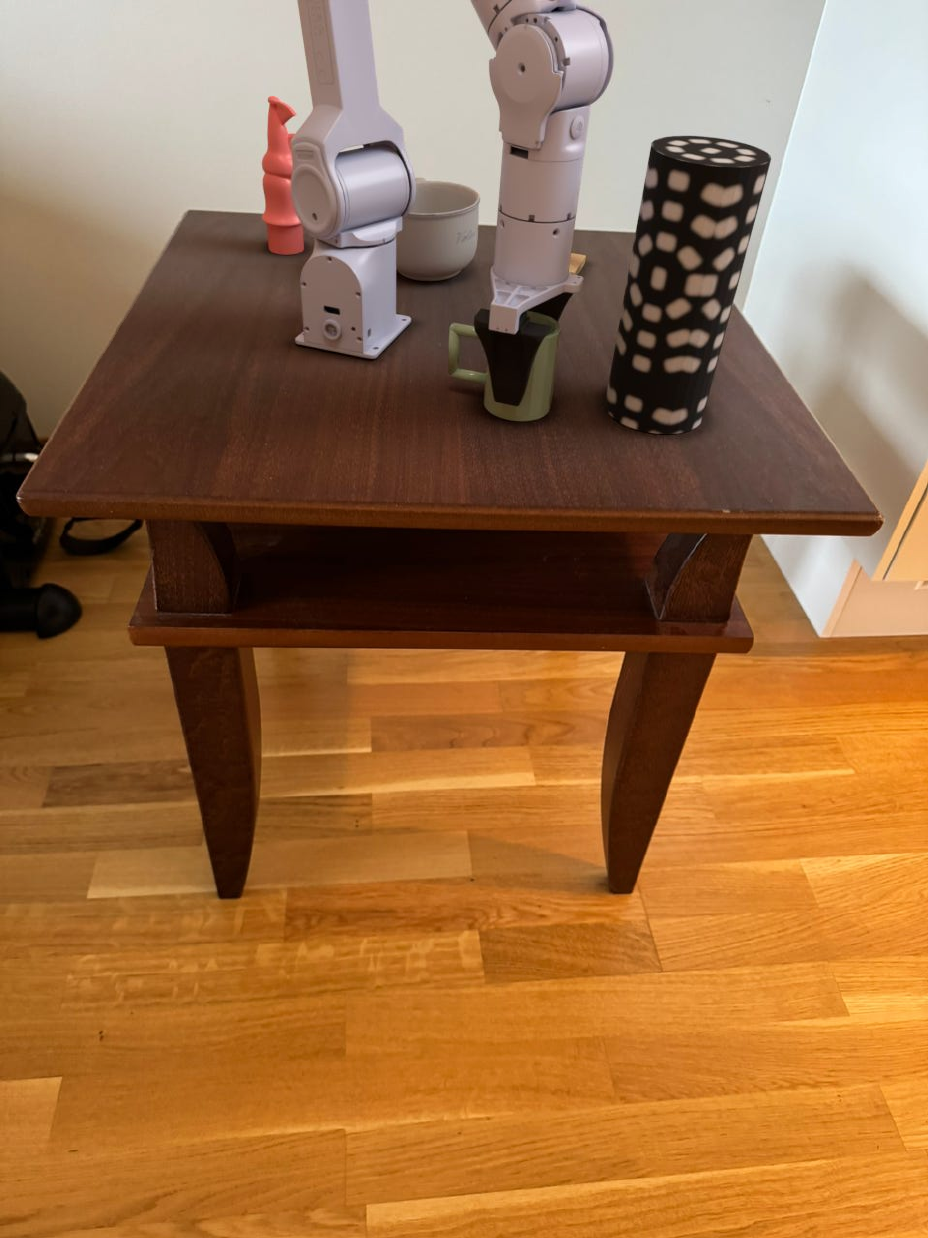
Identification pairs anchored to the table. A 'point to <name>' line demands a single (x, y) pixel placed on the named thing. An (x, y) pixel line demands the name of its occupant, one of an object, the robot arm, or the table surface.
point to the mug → (539, 379)
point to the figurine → (280, 183)
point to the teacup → (438, 231)
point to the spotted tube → (683, 279)
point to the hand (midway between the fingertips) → (519, 384)
